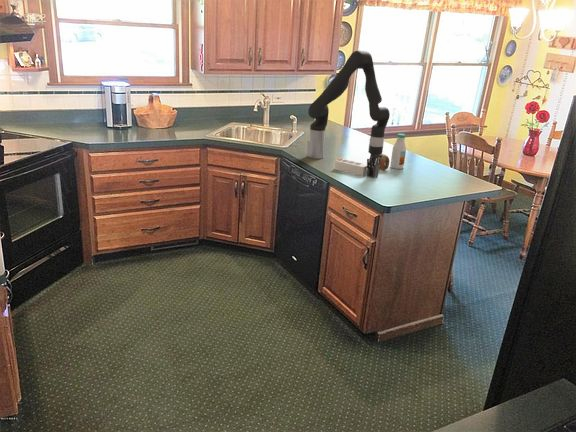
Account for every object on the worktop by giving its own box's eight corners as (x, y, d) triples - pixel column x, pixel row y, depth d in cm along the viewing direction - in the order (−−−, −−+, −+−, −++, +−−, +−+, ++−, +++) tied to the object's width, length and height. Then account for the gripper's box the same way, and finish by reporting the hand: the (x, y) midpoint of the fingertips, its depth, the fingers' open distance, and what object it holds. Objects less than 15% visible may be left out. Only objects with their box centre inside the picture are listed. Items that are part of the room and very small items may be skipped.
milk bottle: (393, 169, 291) (398, 135, 284) (387, 165, 298) (392, 132, 291) (405, 169, 293) (410, 135, 286) (399, 165, 300) (404, 132, 293)
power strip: (334, 169, 285) (335, 159, 283) (340, 166, 290) (341, 157, 288) (362, 175, 276) (363, 166, 274) (368, 173, 281) (369, 163, 279)
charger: (362, 174, 277) (363, 163, 275) (365, 173, 280) (367, 161, 278) (374, 177, 273) (376, 166, 271) (378, 175, 276) (379, 164, 274)
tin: (371, 164, 299) (373, 150, 296) (376, 164, 300) (377, 150, 297) (384, 171, 286) (386, 157, 283) (389, 171, 287) (391, 157, 284)
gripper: (375, 141, 277) (372, 170, 283) (363, 145, 266) (360, 176, 272) (388, 143, 273) (384, 173, 279) (376, 148, 262) (372, 179, 268)
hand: (372, 174), depth 276 cm, fingers closed on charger, 4 cm apart
